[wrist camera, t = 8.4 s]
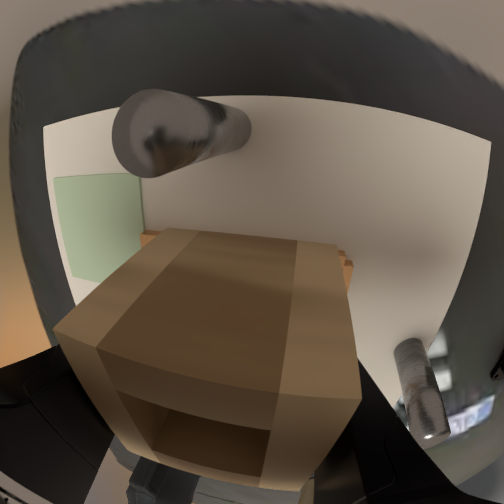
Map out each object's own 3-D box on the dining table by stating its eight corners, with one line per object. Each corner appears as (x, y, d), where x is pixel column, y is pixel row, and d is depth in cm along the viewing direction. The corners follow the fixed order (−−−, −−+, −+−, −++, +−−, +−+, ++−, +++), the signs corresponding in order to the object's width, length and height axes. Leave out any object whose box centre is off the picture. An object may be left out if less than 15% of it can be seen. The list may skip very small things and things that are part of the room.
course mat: (486, 141, 9) (493, 142, 8) (361, 444, 20) (361, 449, 20) (47, 126, 13) (41, 127, 12) (121, 399, 24) (118, 403, 23)
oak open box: (310, 367, 10) (298, 491, 5) (182, 346, 10) (127, 450, 6) (336, 244, 7) (361, 399, 3) (167, 227, 8) (52, 329, 4)
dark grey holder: (216, 469, 29) (195, 534, 19) (157, 452, 30) (130, 510, 20) (203, 435, 24) (170, 523, 14) (129, 412, 25) (88, 486, 15)
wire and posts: (229, 97, 10) (147, 71, 5) (427, 349, 14) (453, 436, 8) (112, 234, 14) (31, 293, 9) (303, 408, 18) (294, 486, 12)
